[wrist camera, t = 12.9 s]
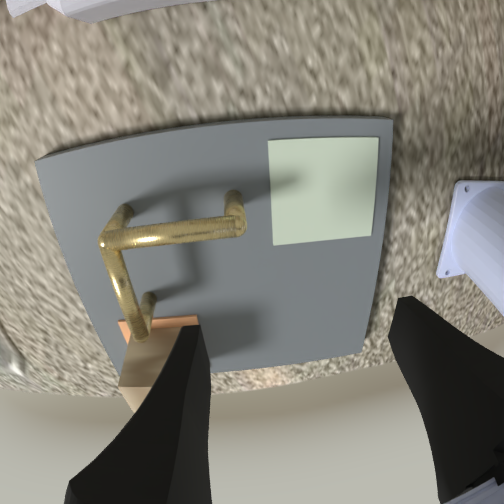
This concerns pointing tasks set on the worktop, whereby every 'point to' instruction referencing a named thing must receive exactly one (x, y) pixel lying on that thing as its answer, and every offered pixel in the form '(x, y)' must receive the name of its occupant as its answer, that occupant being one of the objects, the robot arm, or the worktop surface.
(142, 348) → the block
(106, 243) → the brass corner pipe rail
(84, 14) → the charger
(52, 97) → the worktop surface
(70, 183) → the board
